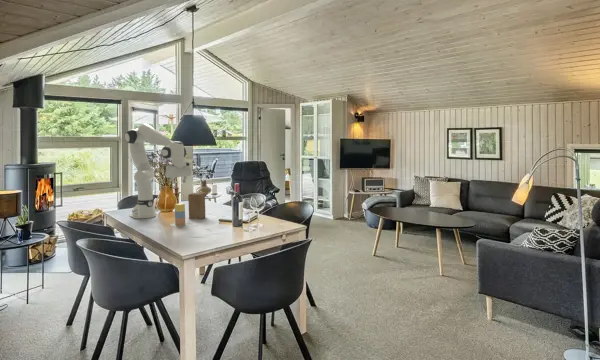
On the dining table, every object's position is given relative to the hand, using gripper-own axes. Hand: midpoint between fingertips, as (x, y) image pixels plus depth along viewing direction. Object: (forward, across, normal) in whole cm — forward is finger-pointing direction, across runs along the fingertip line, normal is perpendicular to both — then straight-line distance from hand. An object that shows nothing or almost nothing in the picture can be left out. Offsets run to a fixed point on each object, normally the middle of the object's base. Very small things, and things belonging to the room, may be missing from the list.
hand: (178, 183), depth 269 cm
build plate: (+31, 0, 0) cm, 31 cm away
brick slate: (+25, 0, 0) cm, 25 cm away
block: (+31, +24, +9) cm, 41 cm away
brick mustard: (+20, 0, 0) cm, 20 cm away
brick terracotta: (+30, 0, 0) cm, 30 cm away
